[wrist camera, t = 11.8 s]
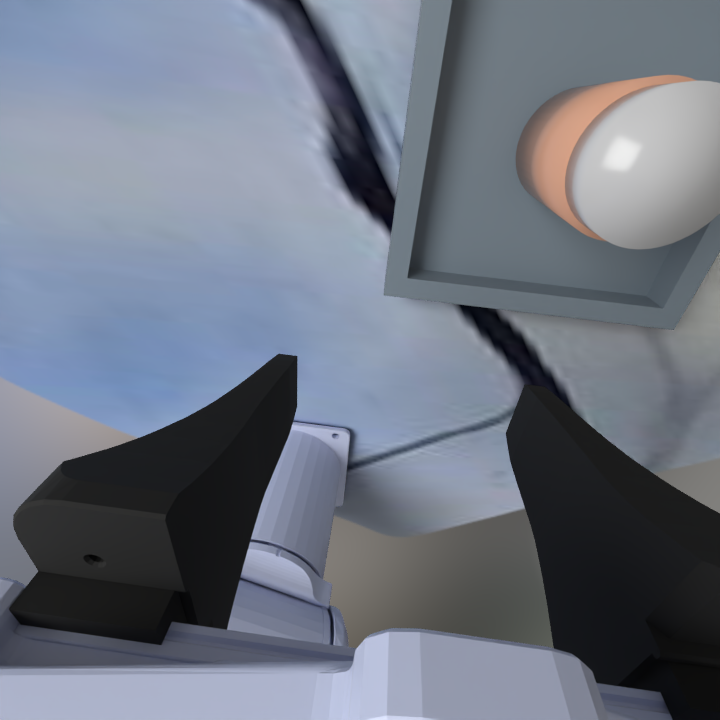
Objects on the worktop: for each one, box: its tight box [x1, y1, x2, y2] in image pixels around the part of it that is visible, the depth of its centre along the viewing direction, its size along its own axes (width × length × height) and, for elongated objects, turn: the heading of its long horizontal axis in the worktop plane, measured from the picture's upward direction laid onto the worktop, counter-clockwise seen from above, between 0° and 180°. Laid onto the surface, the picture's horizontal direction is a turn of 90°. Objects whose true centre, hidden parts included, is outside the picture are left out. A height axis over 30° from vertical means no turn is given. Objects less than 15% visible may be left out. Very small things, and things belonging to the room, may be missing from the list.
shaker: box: [516, 75, 720, 249], centre depth 14 cm, size 4×4×8 cm
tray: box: [384, 0, 720, 330], centre depth 16 cm, size 14×14×2 cm
